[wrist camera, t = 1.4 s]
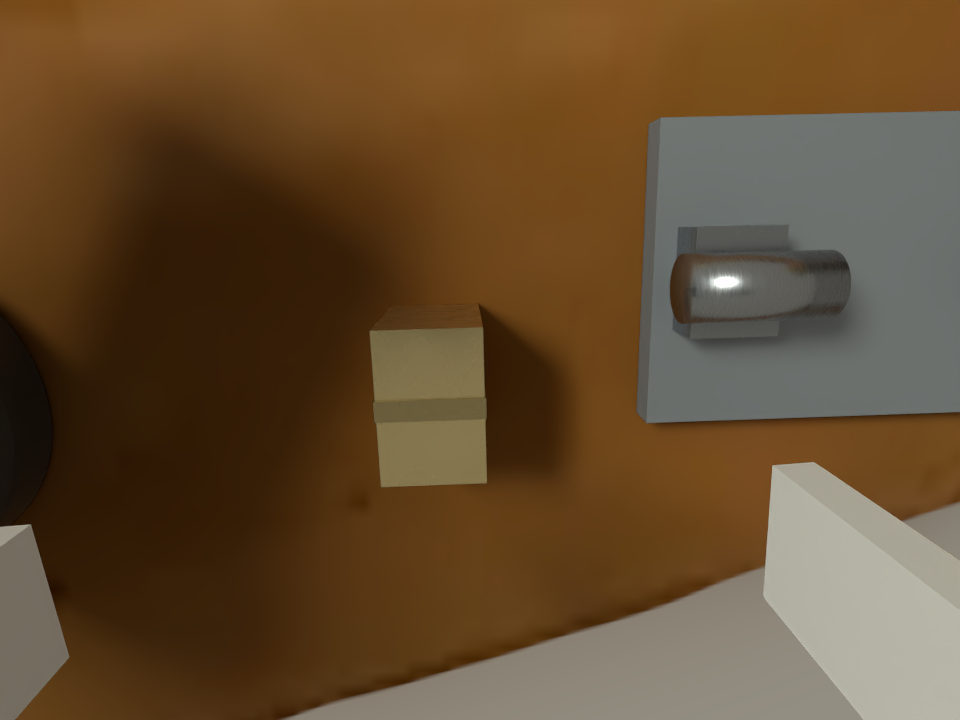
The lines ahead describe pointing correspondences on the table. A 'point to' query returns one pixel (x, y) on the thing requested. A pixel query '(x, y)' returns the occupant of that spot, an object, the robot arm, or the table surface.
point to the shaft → (751, 282)
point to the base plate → (812, 226)
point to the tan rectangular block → (430, 395)
